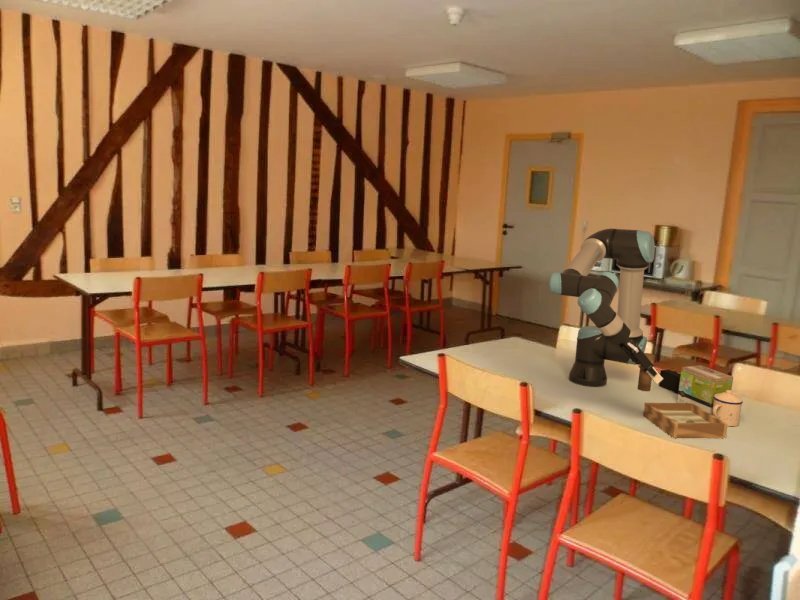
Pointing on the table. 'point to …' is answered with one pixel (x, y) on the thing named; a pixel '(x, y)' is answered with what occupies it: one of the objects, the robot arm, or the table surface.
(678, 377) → the digital camera
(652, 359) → the walnut dowel
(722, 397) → the teacup with lid
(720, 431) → the oak box
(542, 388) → the table surface
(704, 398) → the tea box
